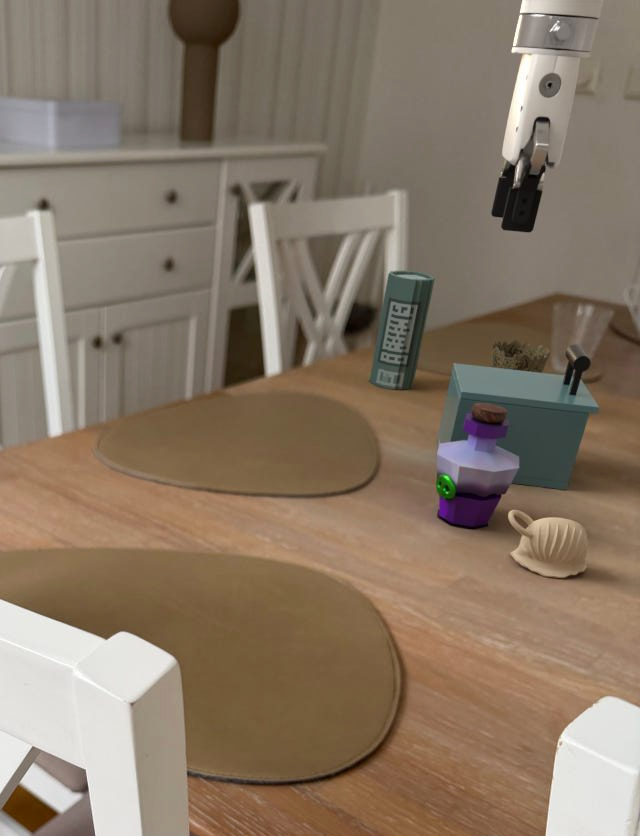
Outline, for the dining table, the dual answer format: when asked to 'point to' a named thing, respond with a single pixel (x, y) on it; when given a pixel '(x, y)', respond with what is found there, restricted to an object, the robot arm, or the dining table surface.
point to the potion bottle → (475, 469)
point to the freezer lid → (529, 385)
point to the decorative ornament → (550, 545)
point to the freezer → (525, 437)
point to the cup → (519, 357)
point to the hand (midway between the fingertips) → (510, 223)
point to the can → (401, 329)
